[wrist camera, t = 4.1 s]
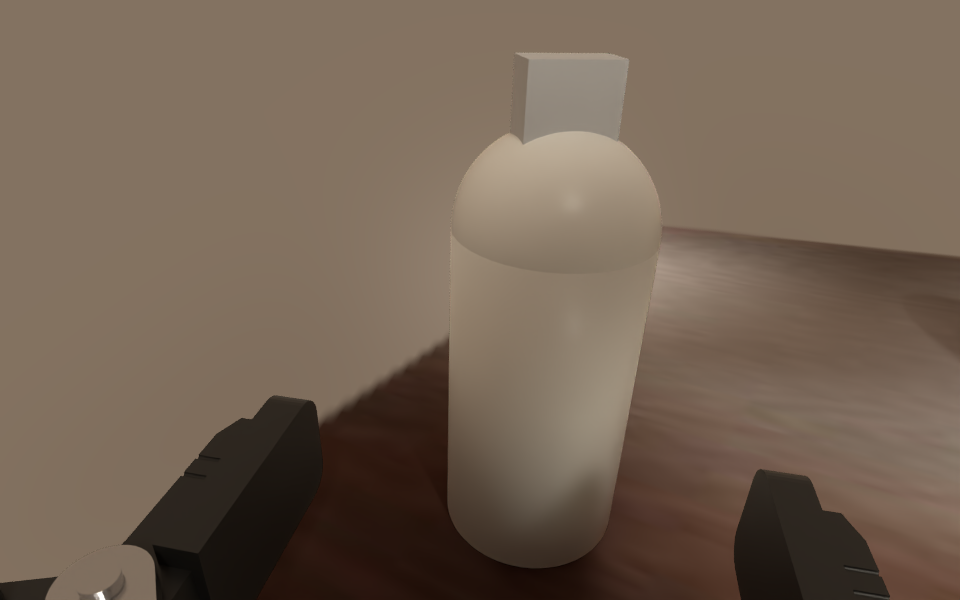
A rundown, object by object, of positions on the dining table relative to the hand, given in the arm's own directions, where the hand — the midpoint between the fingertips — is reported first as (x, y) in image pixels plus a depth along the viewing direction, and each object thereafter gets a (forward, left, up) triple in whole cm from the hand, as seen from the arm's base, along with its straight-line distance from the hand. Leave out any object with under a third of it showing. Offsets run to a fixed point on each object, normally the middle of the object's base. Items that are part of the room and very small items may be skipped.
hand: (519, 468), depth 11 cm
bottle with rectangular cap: (-2, -5, -6) cm, 9 cm away
